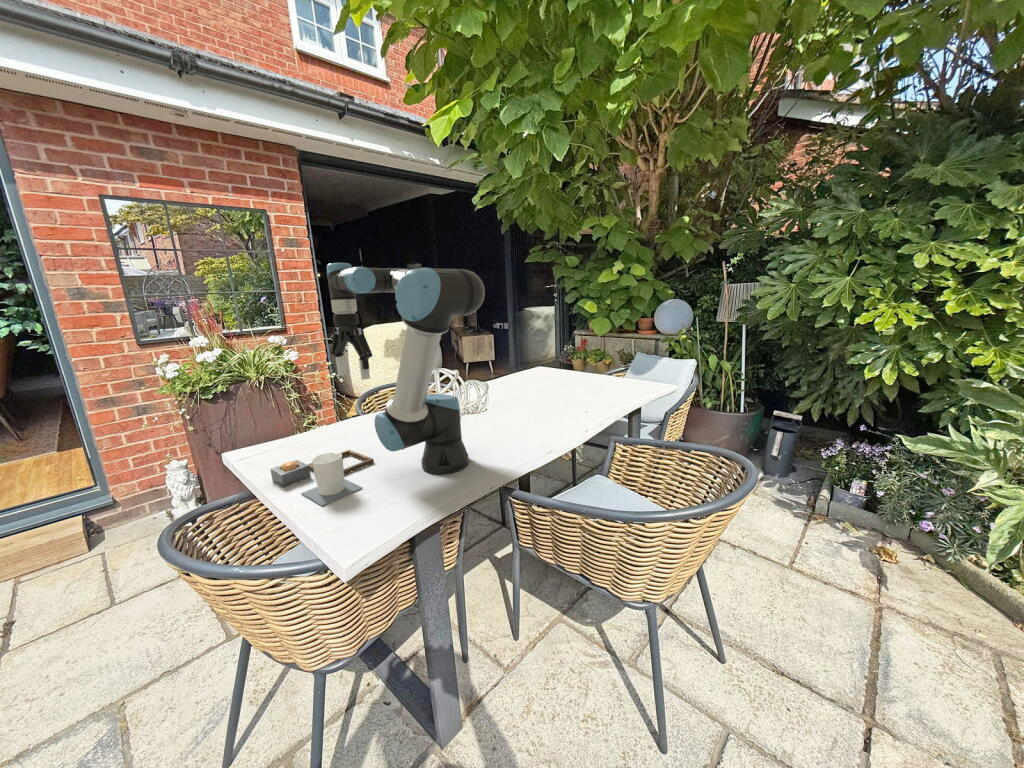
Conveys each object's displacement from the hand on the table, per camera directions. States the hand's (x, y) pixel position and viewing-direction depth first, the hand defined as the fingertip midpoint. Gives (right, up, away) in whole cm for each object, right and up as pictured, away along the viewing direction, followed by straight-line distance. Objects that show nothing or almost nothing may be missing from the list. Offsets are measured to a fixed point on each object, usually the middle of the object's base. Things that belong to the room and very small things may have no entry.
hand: (353, 377), depth 133 cm
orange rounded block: (-15, -31, -10) cm, 36 cm away
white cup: (+1, -33, -19) cm, 38 cm away
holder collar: (-4, -29, -2) cm, 30 cm away
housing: (-15, -32, -10) cm, 37 cm away
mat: (+1, -33, -19) cm, 38 cm away
